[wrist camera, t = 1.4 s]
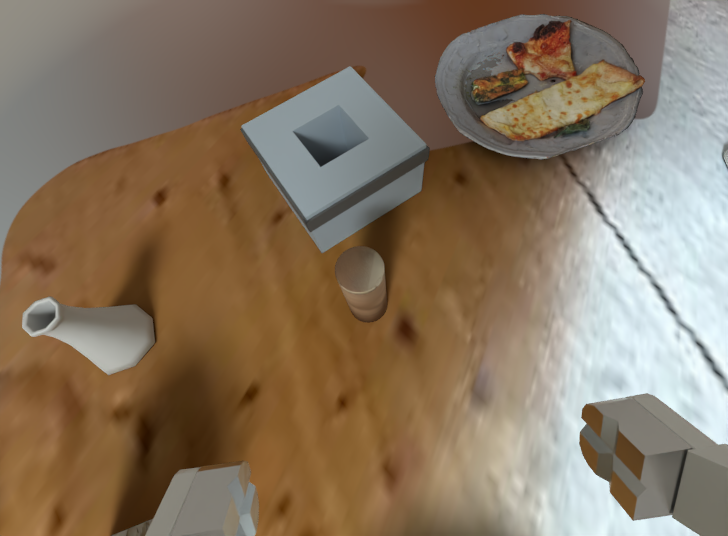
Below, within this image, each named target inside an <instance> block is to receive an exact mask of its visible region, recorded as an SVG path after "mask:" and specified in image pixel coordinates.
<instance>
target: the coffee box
mask: <svg viewBox="0 0 728 536" xmlns="http://www.w3.org/2000/svg"><path fill="white" fill-rule="evenodd" d="M152 520H153V519H151V520H149V521H146V522H144V523H141V524H139V525H136V526H134V527H131V528H129V529H127V530H124V531H122V532H119V533H117V534H114V535H112V536H145V535H146V533H147V531H148V528H149V526H150V524H151V522H152Z"/></svg>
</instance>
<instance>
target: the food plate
mask: <svg viewBox="0 0 728 536" xmlns="http://www.w3.org/2000/svg"><path fill="white" fill-rule="evenodd" d="M644 82H645V79H644V78H643V77H642V76H640V75H639V70H638V68H637V66H636V65H635V64H634V61H633V59H632V58H631V57H630V56H629V54H628V53H627V51H626V49H625V48H624V46H623V45H622V44H620V42H618V41H617V40H616V39H615V38H613V37H612V36H611V35H610V34H608V33H606V32H605V31H603V30H601V29H599V28H596V27H593V26H592V25H589V24H587V23H585V22H582V21H580V20H578V19H574V18H572V17H568V16H548V15H545V14H540V15H518V16H515V17H511V18H508V19H506V20H501V21H499V22H496V23H492V24H489V25H487V26H484V27H481V28H478V29H476V30H473V31H472V32H467V33H466V34H462V35H460V36H459V37H458V38H456V39H455V40H454V41H452V42H451V43H450V44H449V45H448V46H447V48H446V49H445V51H444V52H443V55H442V56H441V58H440V61H439V64H438V68H437V72H436V75H435V83H436V90H437V93H438V94H437V95H438V97H439V100H440V102H441V104H442V106H443V107H444V109H445V111H446V113H447V115H448V117H449V118H450V119H451V121H452V122H453V124H454V125H455V127H456V128H457V130H458V131H459V132H460V133H461V134H463V135H465V136H466V137H467V138H469V139H471V140H473V141H474V142H477V144H480V145H482V146H483V147H486V148H488V149H489V150H493V151H496V152H497V153H501V154H505V155H509V156H510V155H511V156H513V157H521V158H523V157H524V158H530V159H531V158H534V159H535V158H536V159H542V160H543V159H547V158H551V157H554V156H557V155H560V154H563V153H565V152H569V151H571V150H573V151H574V150H576V149H579V148H582V147H584V146H588V145H590V144H592V143H596V142H599V141H602V140H604V139H607V138H609V137H613V136H615V134H616V135H619V134H620V133H622V132H623V131H624V130H626V129H627V128H628V127H629V126H630V124H631V123H632V121H633V119H634V118H635V115H636V111H637V108H638V104H639V101H640V98H641V96H642V94H643V89H642V87H641V86H642V85H643V84H644Z"/></svg>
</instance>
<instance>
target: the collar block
mask: <svg viewBox="0 0 728 536" xmlns="http://www.w3.org/2000/svg"><path fill="white" fill-rule="evenodd" d="M240 130H241V131H242V133H243V135H244V137H245V139H246V141H247V142H248V144H249V145H250V146H251V148H252V149H253V151H254V152H255V154H256V155H257V156H258V158H259V160H260V162H261V163H262V165H263V167H264V169H265V171H266V173H267V174H268V176H269V177H270V178H271V180H272V181H273V183H274V184H275V186H276V187H277V189H278V190H279V191H280V193H281V194H282V196H283V197H284V199H285V200H286V202H287V203H288V205H289V206H290V207H291V209H292V210H293V212H294V213H295V215H296V216H297V218H298V219H299V220H300V222H301V223H302V225H303V226H304V228H305V229H306V231H307V232H308V234H309V235H310V236H311V238H312V239H313V241H314V242H315V244H316V245H317V247H318V248H319V249H320V251H321V252H322V253H323V252H325V251H326V250H328V249H330V248H331V247H333V246H334V245H336V244H338V243H339V242H341V241H342V240H344V239H346V238H347V237H349V236H350V235H352V234H354V233H355V232H357V231H358V230H360V229H361V228H363V227H365V226H366V225H368V224H369V223H371V222H373V221H374V220H376V219H377V218H379V217H381V216H382V215H384V214H385V213H387V212H388V211H390V210H392V209H393V208H395V207H396V206H398V205H400V204H401V203H403V202H404V201H406V200H408V199H409V198H411V197H412V196H414V195H416V194H417V193H419V192H420V191H421V189H422V180H423V171H424V162H426V161H427V160H428V157H429V147H428V146H427V145H426V144H425V142H424V141H423V140H422V139H420V137H419V136H418V135H417V134H416V133H415V132H414V131H413V130H412V129H411V128H410V127H409V126H408V125H407V124H406V123H405V122H404V121H403V120H402V119H401V118H400V117H399V116H398V115H397V114H396V113H395V112H394V111H393V109H391V107H390V106H389V105H388V104H387V103H386V102H384V100H383V99H382V98H381V97H380V96H379V95H378V94H377V93H376V92H375V91H374V90H373V89H372V88H371V87H370V86H369V85H368V84H367V83H366V82H365V81H364V80H363V79H362V78H361V77H360V76H359V75H358V74H357V73H356V72H355V70H354V69H353V68H352V67H351V66H350V67H348V68H346V69H344V70H343V71H341V72H339V73H337V74H335V75H333V76H332V77H330V78H328V79H326V80H324V81H322V82H321V83H319V84H317V85H315V86H313V87H311V88H310V89H308V90H306V91H304V92H302V93H301V94H299V95H297V96H295V97H293V98H291V99H290V100H288V101H286V102H284V103H282V104H280V105H279V106H277V107H275V108H273V109H271V110H269V111H268V112H266V113H264V114H262V115H260V116H258V117H257V118H255V119H253V120H251V121H249V122H248V123H246V124H244V125H242V128H241V129H240Z"/></svg>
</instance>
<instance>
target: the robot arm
mask: <svg viewBox="0 0 728 536" xmlns="http://www.w3.org/2000/svg"><path fill="white" fill-rule="evenodd" d="M724 159H725V162H726V164H727V166H728V150H726V151H725V152H724ZM581 418H582V419H583V420H584V421H585V422H586V423H587V424H586V425H585V427H584V428H583V429H582V430H581V432H580V442H579V444H580V447H581V450H582V454H583V456H584V458H585V460H586V462H587V463H588V465H589V466H590V468H591V469H592V470H593V472H594V473H595V474H596V475H598V476H599V477H601V478H603V479H605V480H607V481H608V482H609V485H610V493H611V494H612V495H613V496H614V498H615V499H616V500H617V501H618V503H619V504H620V505H621V506H622V507H623V509H624V510H625V511H626V512H627V514H628V515H629V516H630V517H631V519H632V520H633V521H634V520H641V519H647V518H654V517H661V516H668V515H673V516H672V517H673V518H674V519H676V520H677V521H679V522H680V523H682V524H683V525H685V526H686V527H688V528H689V529H691V530H692V531H694V532H696V533H697V534H699V535H700V536H728V445H727V444H721V445H718V444H716V443H715V442H714V441H712V440H711V439H710V438H709V437H707V436H706V435H705V434H703V433H702V432H701V431H699V430H698V429H697V428H695V427H694V426H693V425H692V424H690V423H689V422H688V421H686V420H685V419H684V418H682V417H681V416H680V415H679V414H677V413H676V412H675V411H673V410H672V409H671V408H669V407H668V406H667V405H666V404H664V403H663V402H662V401H660V400H659V399H658V398H656V397H655V396H653V395H650V394H641V395H635V396H630V397H626V398H618V399H613V400H607V401H601V402H596V403H590V404H586V405H585V406H584V408H583V409H582V417H581ZM250 475H251V470H250V467H249V464H248V462H247V461H238V462H230V463H223V464H216V465H208V466H202V467H197V468H190V469H182V470H179V471H178V472H177V473H176V474H175V475H174V477H173V479H172V481H171V483H170V485H169V487H168V489H167V491H166V493H165V495H164V497H163V499H162V501H161V504H160V506H159V508H158V510H157V512H156V514H155V516H154V518H153V520H152V522H151V524H150V526H149V528H148V531H147V533H146V535H145V536H254V535H255V534H256V531H257V525H258V518H259V501H258V494H257V490H256V487H255V486H254V485H253V484H251V483H250V482H249V479H250Z"/></svg>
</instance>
